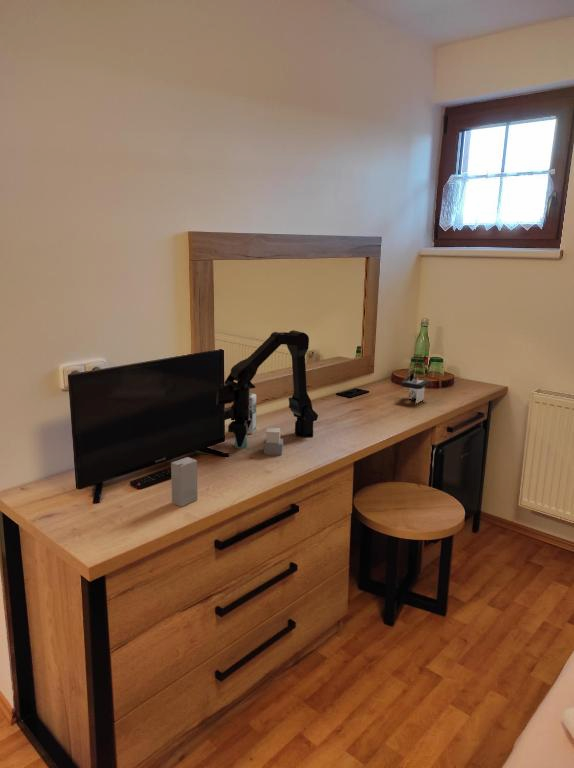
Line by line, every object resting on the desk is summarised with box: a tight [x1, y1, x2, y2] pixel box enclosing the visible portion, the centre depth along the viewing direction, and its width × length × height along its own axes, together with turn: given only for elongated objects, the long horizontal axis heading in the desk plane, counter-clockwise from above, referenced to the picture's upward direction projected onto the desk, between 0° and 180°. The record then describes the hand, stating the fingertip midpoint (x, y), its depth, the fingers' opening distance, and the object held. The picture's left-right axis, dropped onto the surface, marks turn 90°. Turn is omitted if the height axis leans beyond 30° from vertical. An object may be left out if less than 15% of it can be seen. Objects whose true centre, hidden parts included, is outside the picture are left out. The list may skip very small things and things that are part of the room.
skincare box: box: [170, 456, 198, 507], centre depth 159 cm, size 6×4×12 cm
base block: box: [263, 438, 284, 456], centre depth 201 cm, size 6×6×4 cm
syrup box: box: [246, 392, 257, 435], centre depth 219 cm, size 6×6×14 cm
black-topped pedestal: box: [401, 371, 431, 404], centre depth 268 cm, size 28×26×13 cm
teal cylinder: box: [234, 434, 248, 450], centre depth 204 cm, size 4×4×4 cm
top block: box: [265, 427, 281, 443], centre depth 200 cm, size 4×4×4 cm
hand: (240, 443), depth 204 cm, fingers open, 5 cm apart
